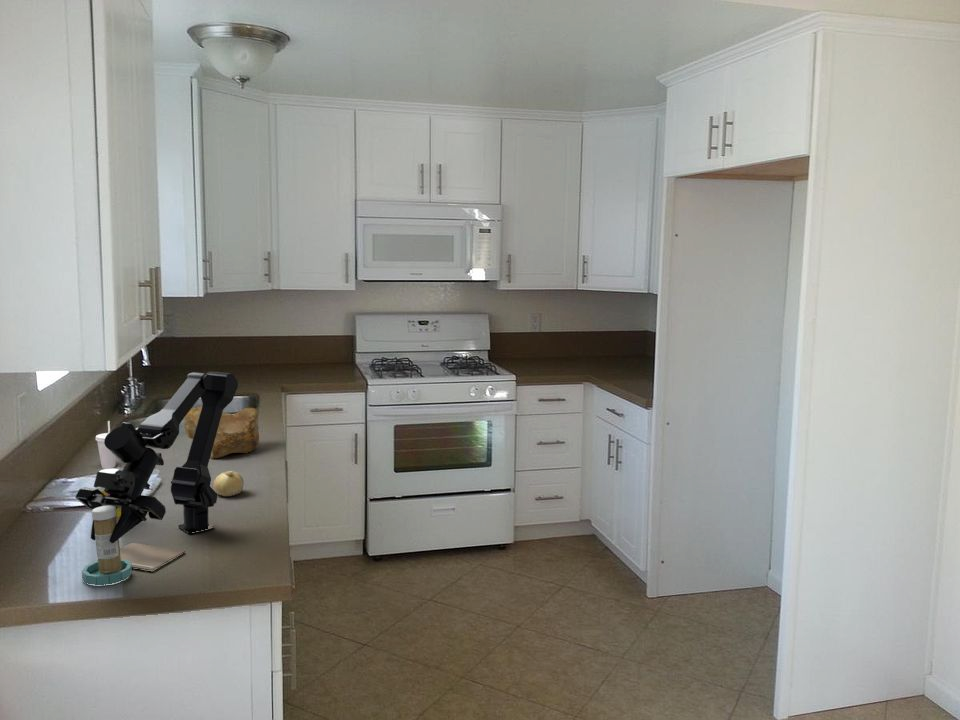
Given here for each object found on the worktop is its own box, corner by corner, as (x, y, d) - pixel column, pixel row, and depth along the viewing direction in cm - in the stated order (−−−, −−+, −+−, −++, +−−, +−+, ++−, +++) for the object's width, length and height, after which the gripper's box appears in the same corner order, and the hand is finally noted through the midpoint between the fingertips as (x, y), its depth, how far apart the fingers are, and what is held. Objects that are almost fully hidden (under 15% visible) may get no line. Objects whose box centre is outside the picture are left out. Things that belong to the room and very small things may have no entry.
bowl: (105, 565, 175) (104, 556, 175) (141, 571, 172) (140, 562, 172) (72, 582, 166) (72, 572, 166) (110, 589, 164) (109, 579, 163)
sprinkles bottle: (123, 565, 172) (117, 503, 170) (120, 573, 167) (114, 509, 166) (100, 568, 171) (93, 506, 169) (96, 576, 166) (89, 512, 164)
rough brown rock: (183, 465, 251) (183, 419, 248) (184, 447, 267) (184, 403, 263) (261, 463, 259) (262, 418, 255) (258, 446, 274) (259, 403, 271)
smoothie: (119, 469, 243) (118, 423, 241) (96, 470, 241) (94, 424, 238) (120, 463, 249) (118, 418, 247) (97, 464, 246) (95, 419, 244)
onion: (207, 495, 222) (206, 470, 221) (228, 488, 229) (228, 463, 228) (229, 501, 218) (228, 475, 217) (250, 493, 225) (250, 468, 224)
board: (132, 544, 186) (132, 542, 186) (184, 553, 183) (184, 550, 182) (97, 563, 176) (97, 559, 176) (152, 572, 172) (152, 569, 172)
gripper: (79, 450, 172) (40, 517, 163) (154, 459, 167) (119, 530, 158) (107, 475, 180) (72, 541, 172) (180, 485, 175) (147, 553, 167)
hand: (101, 540), depth 167 cm, fingers closed on sprinkles bottle, 4 cm apart
